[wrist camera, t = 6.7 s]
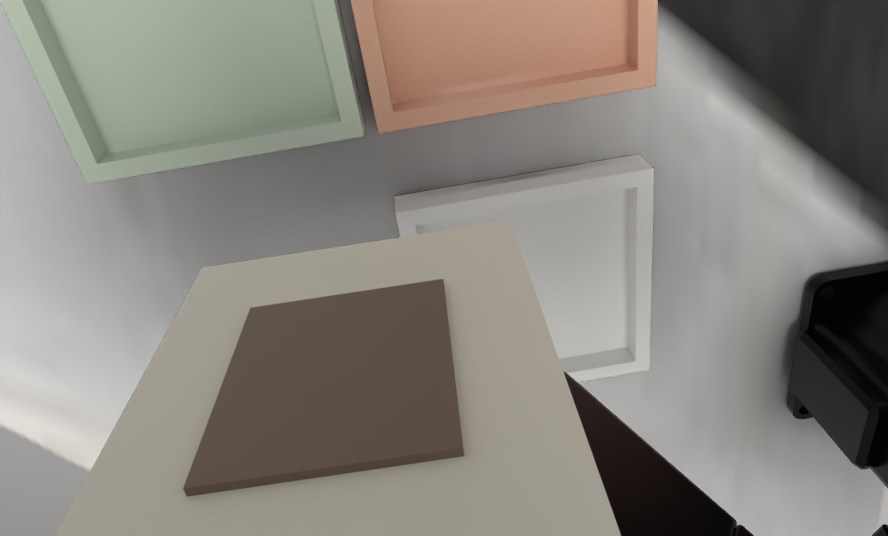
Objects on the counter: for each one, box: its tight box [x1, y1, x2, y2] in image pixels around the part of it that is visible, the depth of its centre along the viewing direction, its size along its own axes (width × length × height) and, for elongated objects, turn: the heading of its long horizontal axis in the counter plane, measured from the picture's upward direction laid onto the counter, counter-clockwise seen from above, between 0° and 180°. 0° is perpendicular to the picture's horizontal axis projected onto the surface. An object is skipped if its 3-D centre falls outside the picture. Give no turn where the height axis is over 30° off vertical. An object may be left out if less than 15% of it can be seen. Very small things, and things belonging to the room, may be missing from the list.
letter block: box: [55, 221, 621, 536], centre depth 8 cm, size 4×5×6 cm
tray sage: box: [0, 0, 365, 184], centre depth 16 cm, size 8×8×1 cm
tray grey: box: [394, 154, 654, 382], centre depth 21 cm, size 8×8×1 cm
